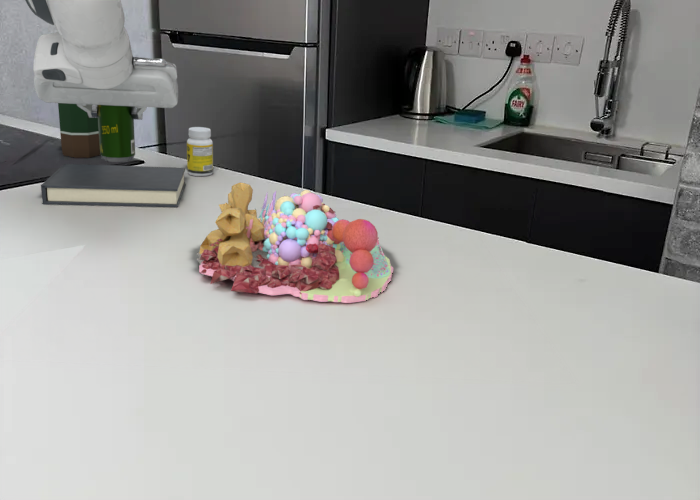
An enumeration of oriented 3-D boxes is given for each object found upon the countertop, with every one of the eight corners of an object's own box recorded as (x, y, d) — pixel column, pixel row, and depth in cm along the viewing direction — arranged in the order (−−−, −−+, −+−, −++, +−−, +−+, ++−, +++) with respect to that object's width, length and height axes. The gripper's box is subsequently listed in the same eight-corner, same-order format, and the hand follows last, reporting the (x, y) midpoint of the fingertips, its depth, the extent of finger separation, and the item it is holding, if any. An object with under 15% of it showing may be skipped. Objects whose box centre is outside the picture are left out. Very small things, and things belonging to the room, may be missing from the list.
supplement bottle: (188, 170, 130) (188, 125, 127) (214, 171, 130) (214, 127, 127) (185, 176, 125) (185, 130, 122) (211, 177, 126) (211, 131, 123)
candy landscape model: (178, 297, 76) (176, 218, 72) (211, 230, 98) (211, 167, 95) (401, 308, 77) (409, 230, 74) (384, 239, 99) (390, 177, 96)
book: (42, 204, 104) (40, 185, 103) (65, 180, 117) (64, 163, 116) (177, 207, 107) (177, 188, 106) (185, 184, 120) (185, 167, 119)
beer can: (136, 155, 113) (132, 81, 109) (134, 162, 108) (131, 85, 104) (101, 154, 112) (97, 79, 108) (98, 162, 107) (94, 84, 103)
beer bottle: (54, 151, 136) (44, 25, 128) (93, 148, 141) (85, 27, 133) (69, 159, 131) (59, 29, 123) (109, 156, 136) (102, 30, 128)
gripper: (177, 43, 99) (184, 102, 111) (27, 34, 96) (52, 96, 108) (174, 78, 96) (182, 134, 109) (20, 70, 93) (46, 129, 105)
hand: (116, 115), depth 108 cm, fingers closed on beer can, 5 cm apart
